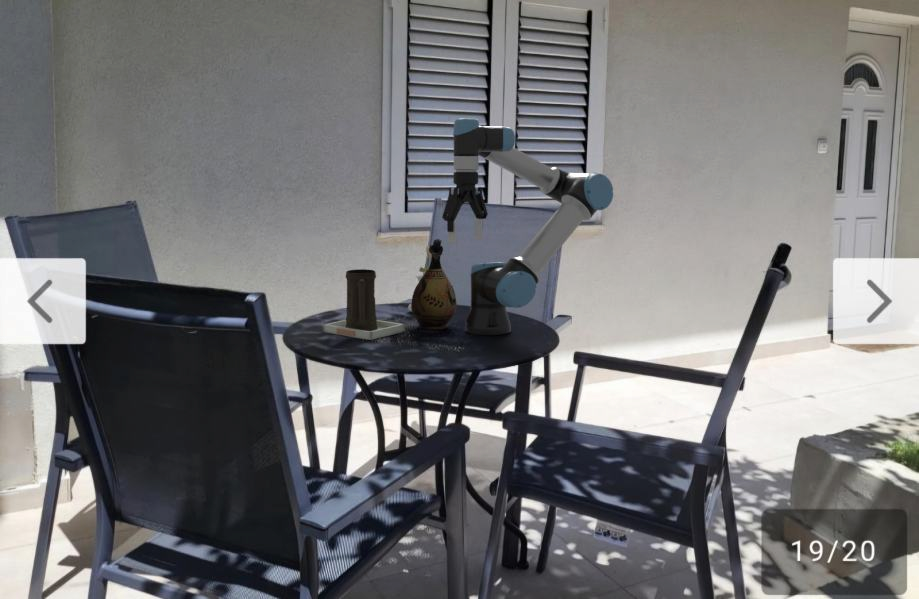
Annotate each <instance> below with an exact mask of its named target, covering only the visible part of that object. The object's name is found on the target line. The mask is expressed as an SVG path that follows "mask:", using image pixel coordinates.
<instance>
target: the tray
mask: <svg viewBox="0 0 919 599" xmlns="http://www.w3.org/2000/svg"><path fill="white" fill-rule="evenodd" d="M345 326H346V319H344V320H338V321H333V322H329V323H325V324H324V323H323V324H322V332H323V333H326V334H331V335H332V334H333V335H339V336H344V337H349V338H350V337H351V338H357V339H362V340H369V341H372V340H376V339H380V338H384V337H388V336H392V335H396V334H401V333H405V332H406V324H405V323H400V322H392V321H385V320H379V319H377V326H378V329H377V330H374V331H365V330H358V329H352V328H346V327H345Z"/></svg>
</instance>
